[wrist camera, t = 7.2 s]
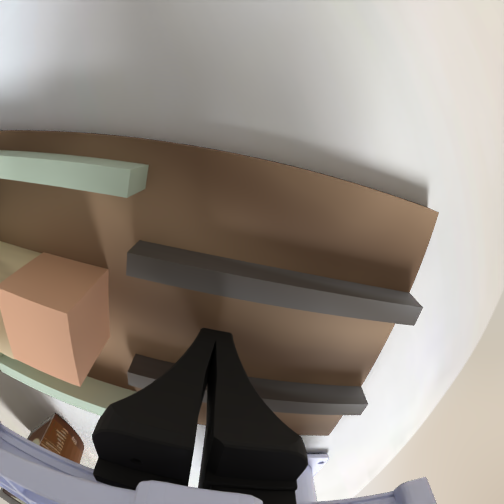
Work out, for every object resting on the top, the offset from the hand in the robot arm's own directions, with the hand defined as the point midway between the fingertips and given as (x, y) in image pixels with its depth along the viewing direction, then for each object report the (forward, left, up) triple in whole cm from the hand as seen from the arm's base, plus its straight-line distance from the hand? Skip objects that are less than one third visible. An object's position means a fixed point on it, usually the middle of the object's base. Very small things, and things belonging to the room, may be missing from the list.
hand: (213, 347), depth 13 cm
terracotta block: (0, +8, -1) cm, 8 cm away
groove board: (0, +3, -2) cm, 4 cm away
